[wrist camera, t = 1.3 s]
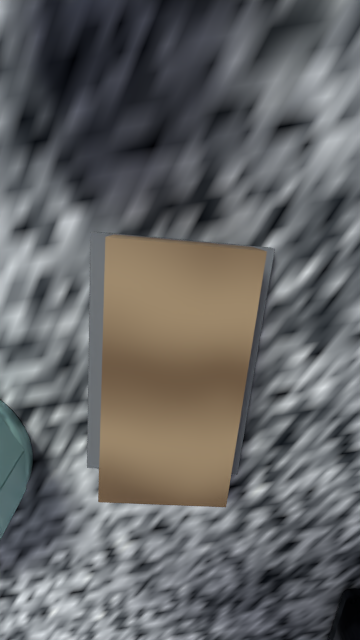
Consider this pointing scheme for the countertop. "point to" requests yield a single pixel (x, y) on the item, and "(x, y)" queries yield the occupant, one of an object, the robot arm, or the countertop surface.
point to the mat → (97, 343)
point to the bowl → (12, 464)
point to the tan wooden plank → (174, 367)
